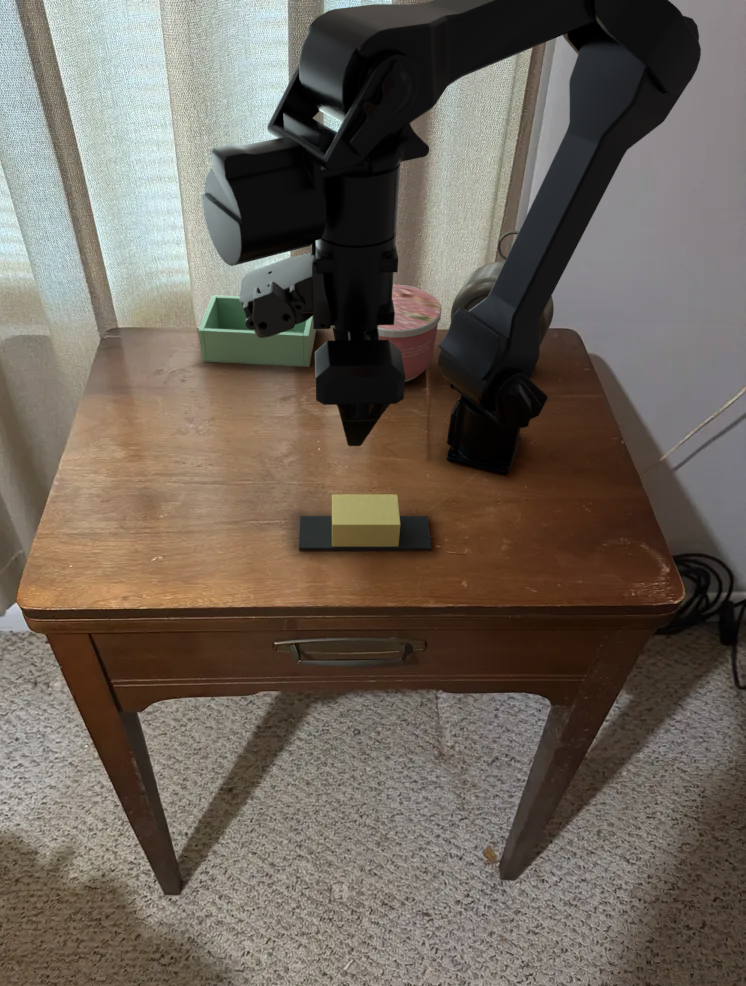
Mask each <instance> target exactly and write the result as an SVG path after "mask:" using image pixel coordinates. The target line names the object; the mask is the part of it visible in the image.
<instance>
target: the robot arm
mask: <svg viewBox="0 0 746 986" xmlns="http://www.w3.org/2000/svg"><path fill="white" fill-rule="evenodd" d="M698 27H699V26H698V24H697V23H696V21H695V20H694V19H693V18H692V17H689V16H686V15H683V13H682V12H681V10H680V9H679V8H678V7H677V6H676V5H675V4H674V3H672V2H671V1H670V0H430V1H427V2H420V3H413V4H410V3H409V4H406V3H405V4H403V3H400V4H398V3H397V4H396V3H393V4H389V3H376V4H375V3H373V4H365V5H357V6H356V5H355V6H349V7H341V8H334V9H330V10H327V11H326V12H324V13H322V14H320V15H319V16H317V17H316V18H315V19H314V20H313V21H312V22H311V23H310V25H309V26H308V28H307V35H306V37H305V39H304V40H303V43H302V46H301V50H300V55H299V60H298V64H297V66H296V68H295V70H294V72H293V73H292V76H291V78H290V80H289V82H288V84H287V85H286V88H285V90H284V92H283V93H282V96H281V98H280V100H279V102H278V103H277V106H276V108H275V109H274V112H273V113H272V116H271V118H270V120H269V122H268V124H267V127H266V129H267V133H269V134H270V135H271V136H273V137H274V139H273V138H272V139H268V140H263V141H259V142H253V143H248V144H247V143H246V144H233V143H231V144H224V145H219V146H215V147H214V146H213V148H212V149H211V151H210V152H211V153H210V154H211V164H212V168H211V169H209V170H208V171H207V173H206V175H205V179H204V184H203V185H204V186H203V192H202V193H201V205H202V211H203V217H204V220H205V224H206V225H205V226H206V229H207V231H208V234H209V237H210V240H211V242H212V244H213V247H214V248H215V250H216V252H217V254H218V256H219V257H220V258H221V260H222V261H223V262H224V263H225V264H226V265H228V266H230V267H233V266H238V265H243V264H245V263H249V262H253V261H257V260H262V259H266V258H268V257H273V256H276V255H281V254H285V253H288V252H292V251H296V250H299V249H300V250H301V249H303V248H307V247H311V252H308V253H305V254H300V255H298V256H290V257H286V258H283V259H282V260H279V261H276V262H274V263H270V264H268V265H265V266H263V267H260V268H259V267H258V268H256V269H254V270H251V271H250V272H248V273H246V274H245V275H244V276H243V277H242V278H241V281H240V289H239V296H240V298H239V301H240V303H241V305H242V307H243V309H244V311H245V314H246V326H247V328H248V329H251V330H254V331H255V334H256V335H257V337H259V338H266V337H270V336H273V335H276V334H279V333H282V332H285V331H288V330H291V329H293V328H294V326H295V325H296V324H299V323H302V322H305V321H306V320H308V319H310V318H311V317H312V315H313V329H316V330H329V329H331V328H332V332H333V338H334V340H333V339H332V340H326V341H325V342H324V343H323V344H322V345H321V346H320V347H318V348H317V349H316V350H315V351H314V373H315V375H314V376H315V378H314V379H315V401H316V402H318V403H320V404H322V405H324V406H332V405H333V406H337V409H338V414H339V417H340V420H341V424H342V429H343V433H344V437H345V440H346V443H347V444H346V445H347V446H349V447H360V446H362V445H363V444H364V442H365V441H366V439H367V437H368V436H369V435H370V433H371V432H372V430H373V429H374V427H375V426H376V424H377V423H378V422H379V420H380V418H382V415H383V414H384V413H385V412H386V410H387V409H388V408H389V407H390V405H397V404H399V403H400V402H402V401H403V400H404V396H405V385H406V382H405V372H404V367H403V361H402V355H401V351H400V350H399V349H398V348H397V347H396V346H395V345H394V344H393V343H392V342H391V341H390V340H380V338H379V331H378V325H394V317H395V311H394V305H393V300H392V292H393V284H394V275H395V273H398V272H399V271H398V269H399V255H398V250H397V245H396V241H397V225H398V211H399V209H398V208H399V193H400V180H401V179H400V177H401V163H404V162H408V161H412V160H416V159H420V158H424V157H427V156H428V155H429V153H430V146H429V144H427V143H426V142H425V141H424V140H423V139H422V138H421V137H420V136H419V135H418V134H417V133H416V131H415V130H414V128H413V127H412V125H411V123H413V122H414V121H416V120H417V119H419V118H420V117H422V116H423V115H424V114H426V113H428V112H429V111H430V110H432V109H433V108H434V107H435V106H436V104H437V103H438V101H439V100H440V98H441V97H442V95H443V94H444V92H446V90H447V88H448V87H449V86H450V85H452V84H453V83H455V82H457V81H458V80H459V79H460V80H461V78H463V77H465V76H467V75H470V74H473V73H475V72H477V71H480V70H483V69H484V68H487V67H489V66H492V65H495V64H496V63H499V62H501V61H504V60H506V59H509V58H511V57H514V56H515V55H518V54H520V53H523V52H525V51H528V50H530V49H533V48H535V47H538V46H540V45H542V44H545V43H547V42H549V41H552V40H554V39H556V38H559V37H563V39H564V40H565V41H566V42H567V44H568V45H569V46H570V47H571V48H572V49H573V51H574V52H575V53H576V55H577V57H576V59H575V61H574V62H575V63H574V66H573V68H572V71H571V74H570V76H569V81H568V125H567V128H566V131H565V133H564V135H563V138H562V139H561V141H560V144H559V146H558V148H557V150H556V152H555V154H554V156H553V159H552V161H551V163H550V165H549V167H548V169H547V171H546V174H545V175H544V178H543V180H542V182H541V184H540V187H539V189H538V190H537V193H536V195H535V196H534V199H533V200H532V203H531V205H530V207H529V209H528V211H527V213H526V216H525V218H524V220H523V222H522V224H521V226H520V228H519V233H518V234H516V237H515V239H514V241H513V243H512V245H511V247H510V250H509V251H508V254H507V256H506V260H504V264H503V267H502V269H501V271H500V273H499V275H498V277H497V279H496V281H495V283H494V286H493V288H492V290H491V292H490V294H489V295H488V297H487V298H486V299H484V300H483V301H481V302H480V303H479V304H477V305H476V306H475V307H473V308H472V309H471V310H469V311H467V310H465V309H463V308H459V309H458V310H457V311H456V312H455V314H454V315H453V318H452V321H451V320H450V325H449V327H448V329H447V332H446V334H445V335H444V337H443V339H441V341H440V342H439V343H438V344H437V345H438V346H437V347H438V348H439V349H440V352H439V355H438V360H437V366H438V367H439V370H440V374H441V376H442V377H443V378H444V379H445V380H446V381H447V386H448V387H449V388H450V389H451V390H454V391H455V392H456V393H458V394H459V395H460V397H459V399H457V400H456V401H455V404H454V406H453V408H452V410H451V412H450V416H449V417H450V418H449V424H448V425H449V426H448V432H447V438H446V444H447V445H448V446H450V447H449V449H448V451H447V453H446V460H447V461H448V462H450V463H454V464H457V465H462V466H466V467H470V468H473V469H478V470H482V471H486V472H491V473H494V474H498V475H501V476H508V475H509V474H510V471H511V469H512V466H513V463H514V460H515V459H516V455H517V452H518V449H519V446H520V444H521V441H522V436H521V430H522V429H525V428H527V427H529V424H530V422H531V420H532V419H535V418H537V417H539V416H540V415H541V412H542V410H543V408H544V407H545V404H546V402H547V401H548V395H547V394H546V393H545V392H544V391H543V390H542V389H541V388H540V387H539V386H538V385H537V384H536V383H534V382H533V380H531V378H532V376H533V373H534V371H535V368H536V365H537V363H538V361H539V358H540V353H541V352H540V346H539V320H540V317H541V315H542V313H543V311H544V309H545V307H546V305H547V303H548V301H549V299H550V297H551V296H553V293H554V291H555V290H556V288H557V286H558V284H559V281H560V280H561V278H562V276H563V274H564V272H565V271H566V269H567V267H568V264H569V263H570V260H571V258H572V257H573V255H574V253H575V251H576V249H577V247H578V245H579V243H580V242H581V239H582V237H583V235H584V234H585V231H586V230H587V228H588V226H589V223H590V222H591V220H592V218H593V216H594V214H595V212H596V211H597V208H598V206H599V204H600V202H601V200H602V199H603V197H604V194H605V193H606V191H607V189H608V187H609V185H610V183H611V182H612V179H613V177H614V175H615V174H616V171H617V169H618V168H619V166H620V164H621V162H622V160H623V158H624V156H625V154H626V153H627V151H628V150H629V149H631V148H632V147H633V146H635V145H636V144H637V143H638V142H639V141H641V140H643V138H645V137H646V136H647V135H649V134H650V133H651V132H653V131H654V130H655V129H657V128H658V127H659V126H660V125H662V124H663V123H664V122H665V120H666V119H667V118H668V116H669V114H670V113H671V112H672V110H673V109H674V107H675V105H676V104H677V102H678V100H679V99H680V97H681V96H682V95H683V93H684V91H685V89H686V88H687V87H688V85H689V84H690V82H691V81H692V79H693V78H694V75H695V74H696V72H697V70H698V67H699V64H700V61H701V56H702V48H701V45H700V33H699V28H698ZM319 112H321V113H323V114H325V115H327V116H328V117H331V118H332V119H334V120H335V121H338V122H340V123H341V124H340V126H339V128H338V130H337V131H336V130H334V129H332V128H331V127H329V126H327V125H325V124H323V123H322V122H320V121H318V120H317V119H315V116H317V114H319Z"/></svg>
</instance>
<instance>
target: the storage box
mask: <svg viewBox="0 0 746 986" xmlns="http://www.w3.org/2000/svg"><path fill="white" fill-rule="evenodd" d="M239 298H240V295H239V296H238V295H237V296H236V295H216V294H212V295H211V298H210V300H209V302H208V305H207V307H206V310H205V313H204V315H203V317H202V320H201V322H200V325H199V328H198V331H197V332H198V339H199V347H200V354H201V361H202V362H209V363H226V364H227V363H228V364H248V365H266V366H267V365H268V366H285V367H289V366H290V367H303V368H304V367H305V368H306V367H307V368H310V365H311V359H312V354H313V349H314V344H315V339H316V334H317V329H313V315H312V317H311V318H310V319H308V320H306V321H305V322H302V323H299V324H296V325H295V326H294V328H293V329H291V330H288V331H285V332H282V333H279V334H276V335H273V336H270V337H266V338H259V337H257V335H256V334H255V331H254V330H251V329H248V328H247V326H246V314H245V311H244V309H243V307H242V305H241V303H240V301H239Z"/></svg>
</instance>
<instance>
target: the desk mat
mask: <svg viewBox="0 0 746 986" xmlns="http://www.w3.org/2000/svg"><path fill="white" fill-rule="evenodd" d="M429 524H430V523H429V518H428V515H400V535H399V545H398V547H333V546H332V515H300V516H299V531H298V532H299V534H298V551H299V552H356V551H357V552H373V551H374V552H377V551H378V552H387V551H388V552H390V551H391V552H396V551H397V552H400V551H401V552H406V551H407V552H408V551H409V552H412V551H413V552H420V551H421V552H422V551H423V552H424V551H425V552H430V551H432V550H433V547H432V540H431V539H432V538H431V532H430V531H431V530H430V525H429Z"/></svg>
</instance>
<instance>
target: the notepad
mask: <svg viewBox="0 0 746 986" xmlns="http://www.w3.org/2000/svg"><path fill="white" fill-rule="evenodd" d="M399 505H400V503H399V496H398V494H397V493H396V494H392V493H391V494H387V493H386V494H379V493H377V494H373V493H370V494H369V493H368V494H364V493H363V494H359V493H357V494H354V493H353V494H351V493H350V494H349V493H348V494H345V493H344V494H341V493H340V494H338V493H337V494H331V516H332V546H333V547H398V545H399V535H400V516H401V514H400V506H399Z"/></svg>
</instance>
